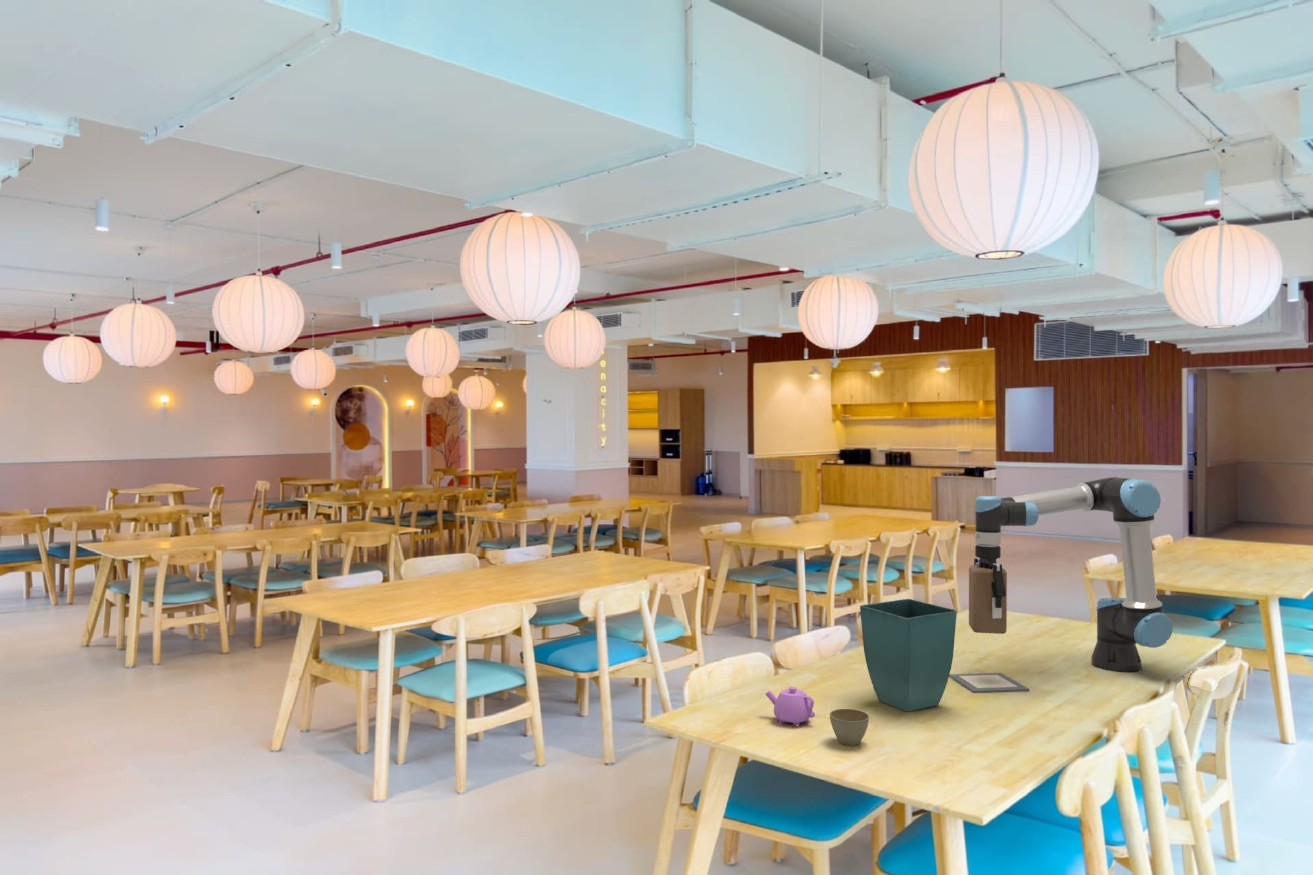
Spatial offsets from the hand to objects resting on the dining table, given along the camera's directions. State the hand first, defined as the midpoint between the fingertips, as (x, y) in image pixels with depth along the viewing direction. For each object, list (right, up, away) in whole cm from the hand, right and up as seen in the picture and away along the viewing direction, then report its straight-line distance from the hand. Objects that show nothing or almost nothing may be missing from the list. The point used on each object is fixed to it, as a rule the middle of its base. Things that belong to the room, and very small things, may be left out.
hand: (987, 613), depth 275 cm
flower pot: (-31, -22, -20) cm, 43 cm away
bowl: (-55, -23, -51) cm, 79 cm away
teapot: (-68, -23, -35) cm, 79 cm away
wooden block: (0, -5, 0) cm, 5 cm away
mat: (0, -22, 0) cm, 22 cm away
